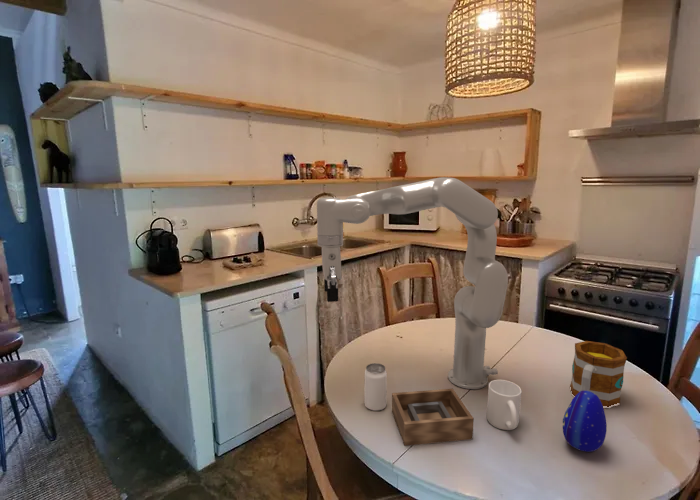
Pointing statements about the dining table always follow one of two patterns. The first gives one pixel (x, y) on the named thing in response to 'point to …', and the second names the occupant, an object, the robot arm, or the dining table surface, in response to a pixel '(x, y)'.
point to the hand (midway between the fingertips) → (331, 296)
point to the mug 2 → (598, 371)
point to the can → (375, 386)
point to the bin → (431, 416)
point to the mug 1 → (503, 404)
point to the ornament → (585, 422)
